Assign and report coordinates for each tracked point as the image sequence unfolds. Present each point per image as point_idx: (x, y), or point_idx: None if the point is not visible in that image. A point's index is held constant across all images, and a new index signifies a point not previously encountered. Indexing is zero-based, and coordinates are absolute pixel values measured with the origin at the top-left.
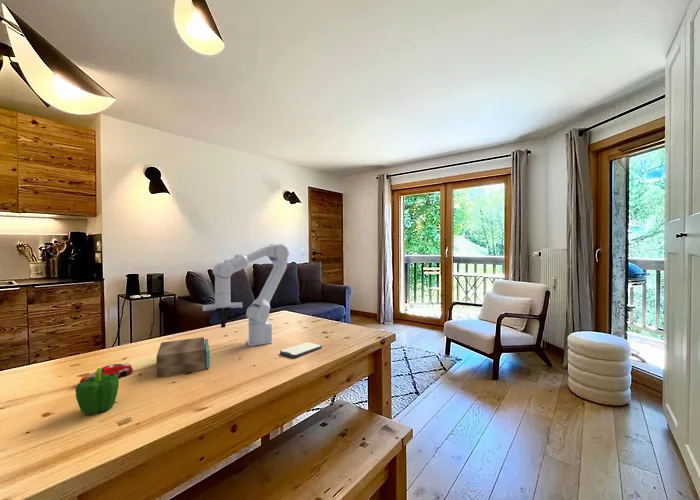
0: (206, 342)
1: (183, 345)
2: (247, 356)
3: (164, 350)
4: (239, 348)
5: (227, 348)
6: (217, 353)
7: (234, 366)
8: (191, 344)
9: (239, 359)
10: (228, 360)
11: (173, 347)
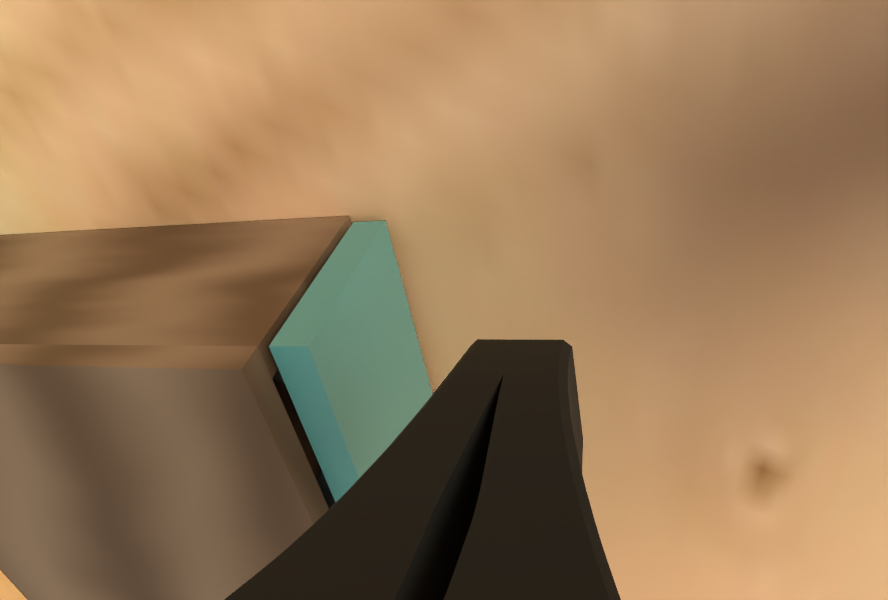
0: (344, 489)
1: (143, 554)
2: (867, 461)
3: (53, 590)
4: (863, 116)
5: (656, 38)
6: (508, 224)
7: (677, 594)
8: (213, 566)
9: (753, 494)
10: (636, 472)
11: (80, 563)
